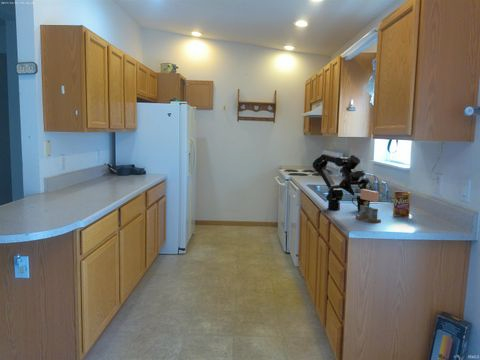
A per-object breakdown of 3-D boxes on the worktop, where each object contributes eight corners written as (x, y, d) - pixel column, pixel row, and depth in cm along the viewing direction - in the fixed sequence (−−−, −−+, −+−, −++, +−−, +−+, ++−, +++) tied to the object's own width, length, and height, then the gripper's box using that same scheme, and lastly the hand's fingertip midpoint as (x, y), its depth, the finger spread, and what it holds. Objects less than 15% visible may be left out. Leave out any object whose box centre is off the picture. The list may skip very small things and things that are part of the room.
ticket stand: (355, 218, 226) (356, 205, 225) (364, 217, 229) (365, 204, 228) (370, 223, 214) (371, 209, 213) (380, 222, 217) (381, 209, 216)
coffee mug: (369, 210, 251) (370, 194, 249) (370, 212, 242) (371, 197, 241) (351, 208, 254) (351, 193, 253) (351, 211, 246) (352, 195, 244)
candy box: (392, 216, 233) (394, 191, 232) (393, 214, 237) (395, 190, 235) (408, 217, 229) (410, 192, 227) (409, 216, 233) (411, 191, 231)
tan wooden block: (360, 198, 225) (360, 189, 224) (363, 198, 226) (364, 189, 225) (374, 202, 214) (375, 192, 213) (378, 201, 215) (378, 192, 214)
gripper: (343, 165, 226) (354, 187, 217) (368, 165, 233) (380, 186, 225) (334, 177, 234) (344, 198, 225) (358, 176, 241) (369, 197, 233)
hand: (360, 194), depth 227 cm, fingers open, 9 cm apart
